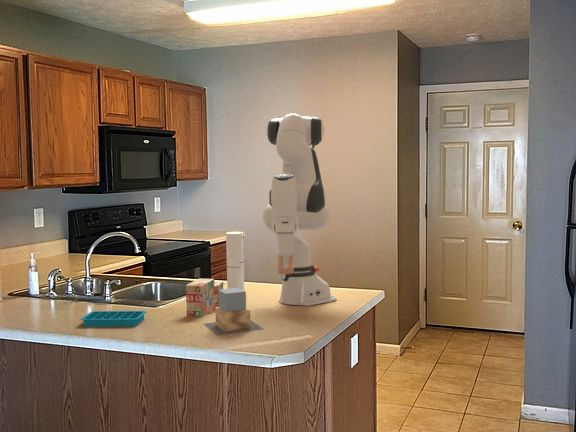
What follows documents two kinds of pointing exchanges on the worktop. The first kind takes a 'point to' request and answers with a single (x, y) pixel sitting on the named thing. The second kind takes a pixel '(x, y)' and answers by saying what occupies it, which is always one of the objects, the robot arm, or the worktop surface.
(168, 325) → the worktop surface
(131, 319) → the ice cube tray
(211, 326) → the charcoal rubber mat
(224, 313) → the oak block
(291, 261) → the terracotta cylinder
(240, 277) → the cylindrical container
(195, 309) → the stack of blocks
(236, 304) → the slate-blue block
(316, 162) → the robot arm
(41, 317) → the worktop surface
